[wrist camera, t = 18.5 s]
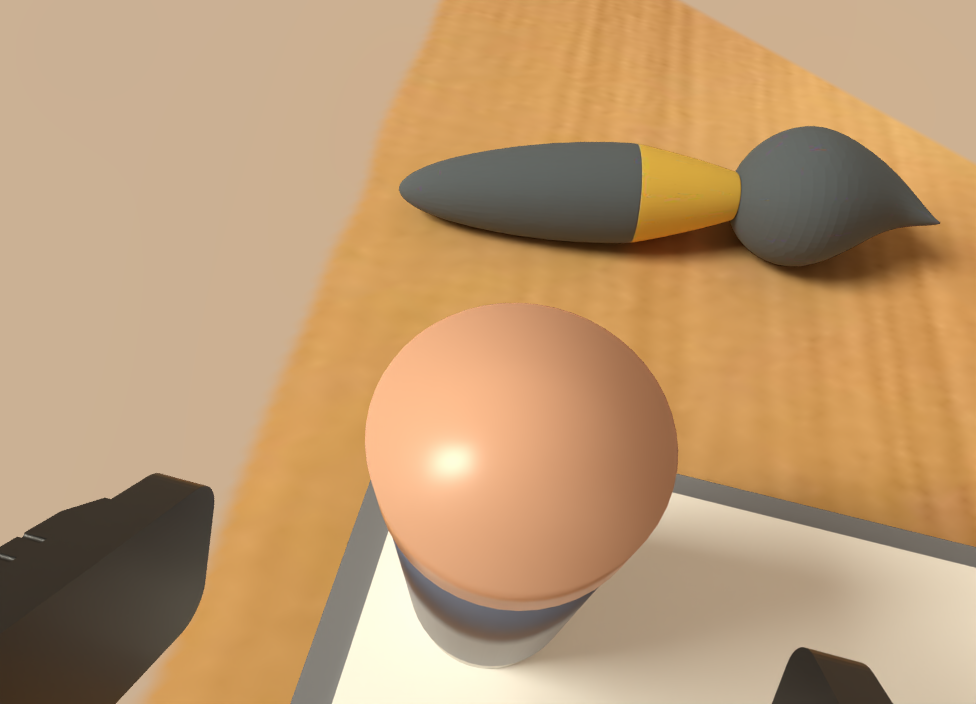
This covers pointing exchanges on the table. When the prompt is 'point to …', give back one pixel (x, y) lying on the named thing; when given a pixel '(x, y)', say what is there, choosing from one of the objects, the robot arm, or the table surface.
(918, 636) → the whiteboard
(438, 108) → the table surface
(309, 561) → the table surface
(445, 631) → the peach capped blue cylinder
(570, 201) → the paintbrush
